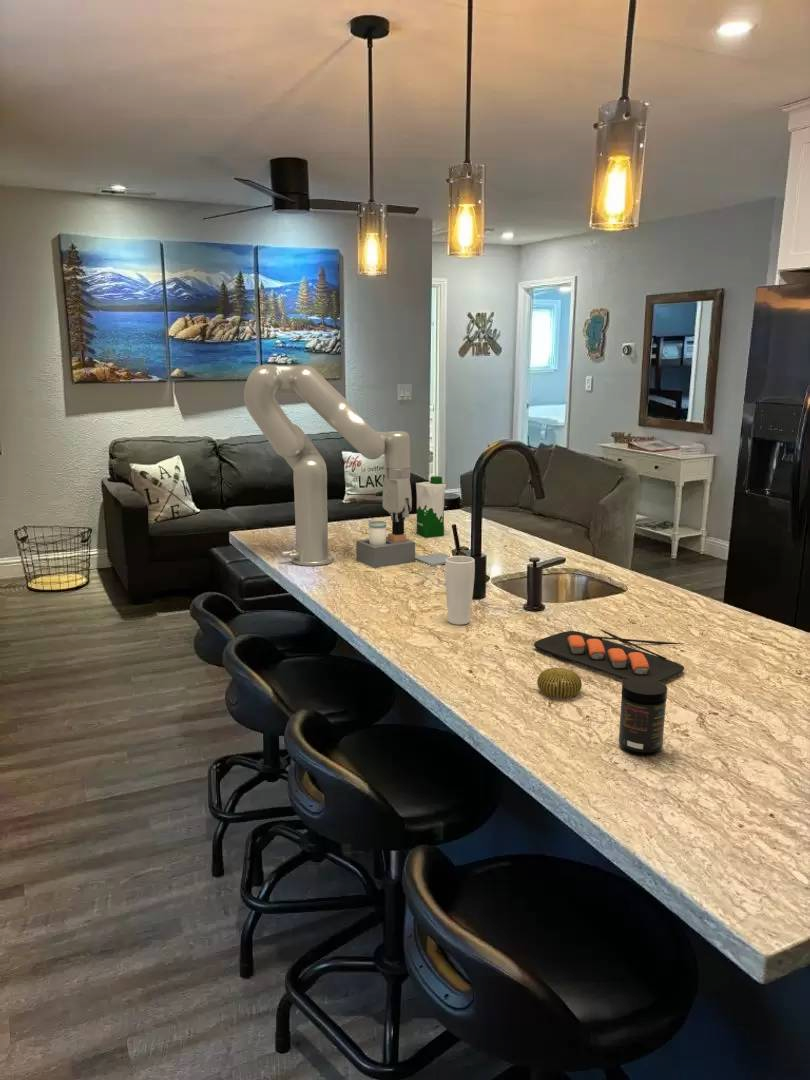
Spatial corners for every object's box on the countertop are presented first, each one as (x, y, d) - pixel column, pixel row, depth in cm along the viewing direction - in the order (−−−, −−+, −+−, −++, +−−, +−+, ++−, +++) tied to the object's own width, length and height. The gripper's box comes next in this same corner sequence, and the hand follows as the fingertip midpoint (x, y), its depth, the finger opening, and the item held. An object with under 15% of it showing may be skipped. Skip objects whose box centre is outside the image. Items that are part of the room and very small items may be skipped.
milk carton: (447, 536, 274) (448, 478, 270) (423, 538, 271) (424, 480, 266) (435, 531, 282) (436, 475, 278) (412, 533, 279) (412, 476, 274)
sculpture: (528, 672, 146) (554, 661, 152) (528, 693, 147) (553, 681, 153) (565, 684, 141) (590, 672, 146) (564, 706, 142) (589, 693, 147)
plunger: (394, 552, 240) (394, 536, 239) (388, 549, 244) (388, 533, 243) (406, 550, 242) (406, 534, 241) (399, 548, 246) (399, 532, 245)
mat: (431, 566, 235) (431, 564, 235) (413, 559, 243) (413, 557, 243) (459, 562, 240) (459, 559, 240) (440, 555, 248) (440, 552, 248)
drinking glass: (471, 627, 182) (473, 563, 179) (442, 625, 184) (443, 562, 180) (475, 618, 189) (476, 556, 185) (446, 616, 190) (447, 554, 187)
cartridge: (374, 565, 237) (374, 525, 234) (365, 561, 241) (365, 522, 238) (389, 562, 239) (389, 523, 237) (380, 559, 244) (380, 520, 241)
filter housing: (374, 567, 233) (374, 547, 232) (356, 559, 243) (356, 540, 241) (415, 561, 241) (415, 542, 239) (396, 554, 250) (396, 535, 248)
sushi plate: (527, 651, 169) (527, 634, 168) (612, 622, 188) (613, 607, 187) (647, 695, 148) (648, 675, 147) (730, 657, 166) (732, 640, 166)
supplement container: (665, 743, 128) (670, 681, 126) (659, 761, 122) (664, 697, 120) (622, 734, 131) (626, 674, 129) (614, 752, 125) (618, 689, 123)
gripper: (373, 471, 242) (375, 531, 246) (399, 477, 230) (400, 540, 234) (395, 469, 246) (396, 528, 250) (421, 475, 233) (422, 537, 238)
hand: (398, 533), depth 242 cm, fingers closed
